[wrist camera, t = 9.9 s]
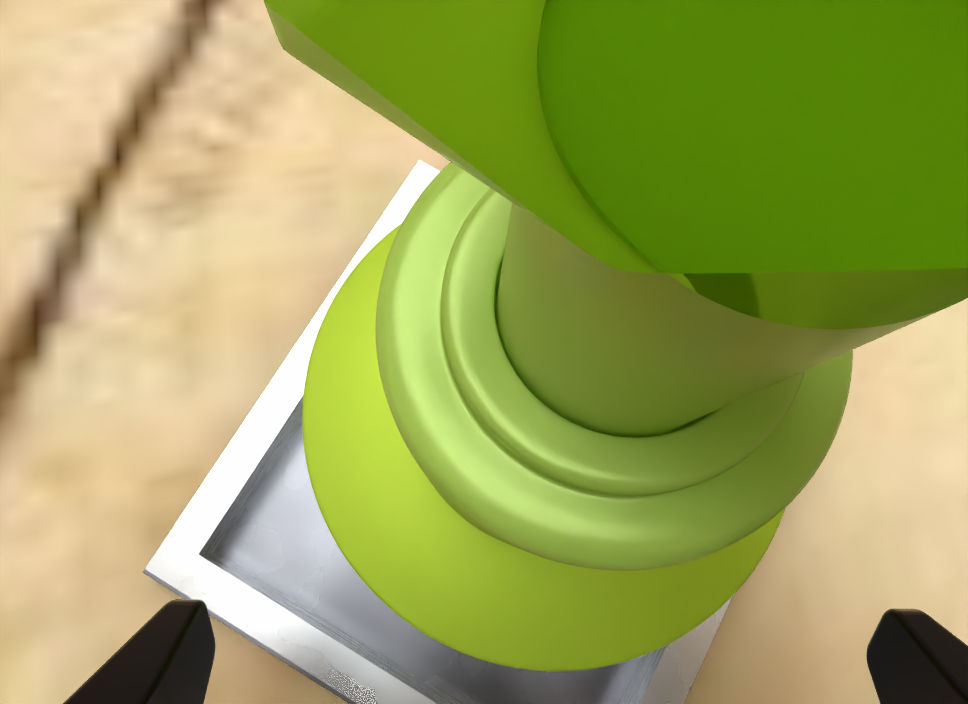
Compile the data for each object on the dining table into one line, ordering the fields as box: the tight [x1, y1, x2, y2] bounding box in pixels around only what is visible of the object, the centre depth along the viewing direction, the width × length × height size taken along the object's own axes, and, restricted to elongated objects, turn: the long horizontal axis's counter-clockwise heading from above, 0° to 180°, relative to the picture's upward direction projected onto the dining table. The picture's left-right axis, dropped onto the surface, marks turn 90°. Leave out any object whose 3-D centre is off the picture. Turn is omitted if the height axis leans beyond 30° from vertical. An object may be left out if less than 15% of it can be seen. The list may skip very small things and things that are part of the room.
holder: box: [143, 160, 733, 704], centre depth 21 cm, size 15×15×2 cm
